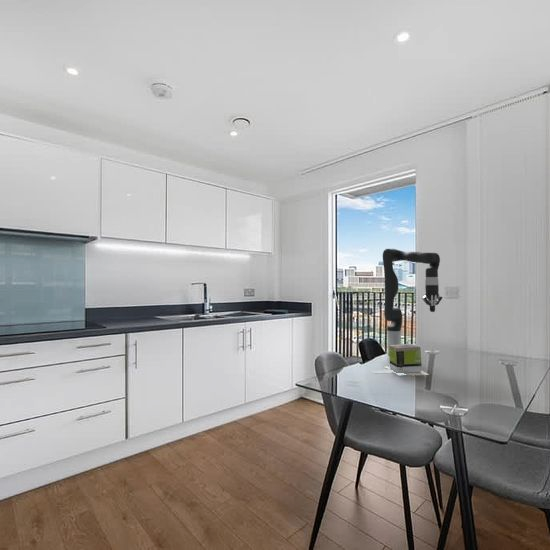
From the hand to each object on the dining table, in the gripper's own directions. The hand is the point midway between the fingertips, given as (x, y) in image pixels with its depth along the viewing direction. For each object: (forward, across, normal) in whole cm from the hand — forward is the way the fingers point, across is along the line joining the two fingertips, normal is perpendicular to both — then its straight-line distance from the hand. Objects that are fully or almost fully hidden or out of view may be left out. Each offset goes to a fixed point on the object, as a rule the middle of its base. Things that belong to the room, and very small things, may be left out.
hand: (432, 311), depth 208 cm
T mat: (+33, +30, +10) cm, 46 cm away
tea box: (+33, +24, +10) cm, 42 cm away
